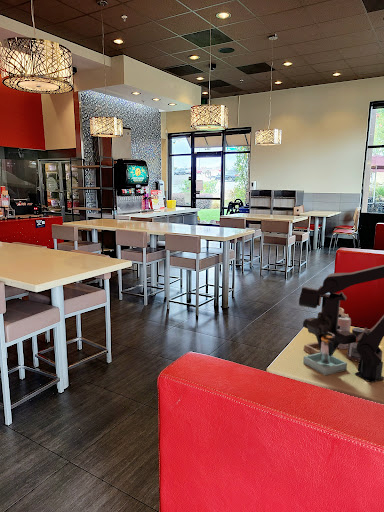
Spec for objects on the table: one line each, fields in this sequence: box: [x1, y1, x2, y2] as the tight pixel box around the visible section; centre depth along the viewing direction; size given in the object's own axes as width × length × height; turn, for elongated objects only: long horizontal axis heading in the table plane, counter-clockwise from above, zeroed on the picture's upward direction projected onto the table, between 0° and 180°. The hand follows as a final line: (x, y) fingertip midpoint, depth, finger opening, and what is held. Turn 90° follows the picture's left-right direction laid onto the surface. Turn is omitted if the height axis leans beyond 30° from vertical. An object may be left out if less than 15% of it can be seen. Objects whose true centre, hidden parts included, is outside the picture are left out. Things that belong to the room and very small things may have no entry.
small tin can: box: [320, 335, 332, 364], centre depth 132 cm, size 4×4×9 cm
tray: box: [302, 353, 348, 376], centre depth 133 cm, size 10×10×2 cm
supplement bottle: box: [346, 327, 364, 362], centre depth 140 cm, size 6×6×11 cm
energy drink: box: [337, 316, 352, 350], centre depth 151 cm, size 5×5×12 cm
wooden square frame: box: [303, 341, 321, 355], centre depth 145 cm, size 7×7×2 cm
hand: (325, 353), depth 133 cm, fingers closed on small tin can, 3 cm apart
